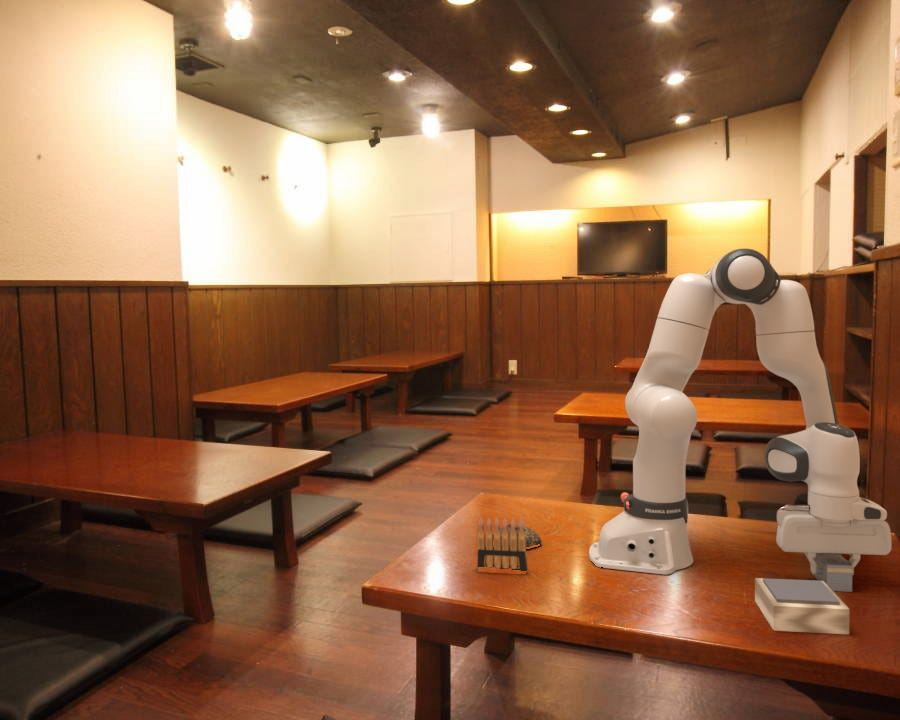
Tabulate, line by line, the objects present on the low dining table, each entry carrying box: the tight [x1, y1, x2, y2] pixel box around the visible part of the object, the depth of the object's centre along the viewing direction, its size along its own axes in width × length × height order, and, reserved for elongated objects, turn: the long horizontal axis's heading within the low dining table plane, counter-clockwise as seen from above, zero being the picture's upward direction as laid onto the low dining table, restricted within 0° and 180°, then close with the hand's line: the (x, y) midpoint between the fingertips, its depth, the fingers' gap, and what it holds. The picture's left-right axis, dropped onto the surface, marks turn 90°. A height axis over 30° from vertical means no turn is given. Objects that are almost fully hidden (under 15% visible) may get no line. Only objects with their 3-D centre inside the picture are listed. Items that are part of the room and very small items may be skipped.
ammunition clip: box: [476, 516, 528, 571], centre depth 146 cm, size 11×2×12 cm, turn 79°
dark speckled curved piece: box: [492, 523, 543, 548], centre depth 163 cm, size 13×12×5 cm
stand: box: [754, 577, 850, 635], centre depth 121 cm, size 12×12×5 cm
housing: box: [812, 553, 853, 593], centre depth 135 cm, size 4×8×5 cm, turn 170°
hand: (831, 573), depth 135 cm, fingers closed on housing, 4 cm apart
